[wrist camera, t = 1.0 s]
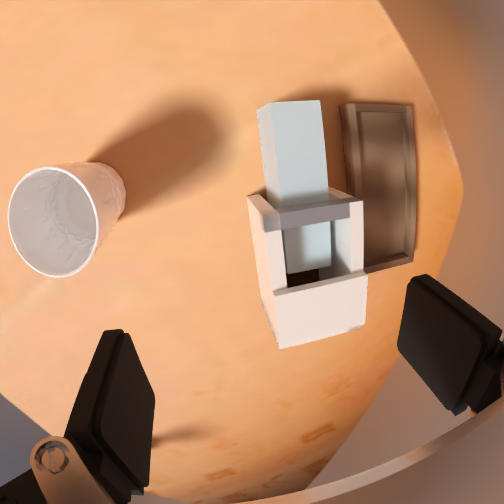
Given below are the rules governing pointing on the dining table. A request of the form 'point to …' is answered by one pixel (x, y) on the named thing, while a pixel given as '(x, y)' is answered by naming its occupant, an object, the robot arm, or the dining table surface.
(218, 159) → the dining table surface
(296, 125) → the white rectangular block
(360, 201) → the dispenser
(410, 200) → the tray
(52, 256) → the white cup
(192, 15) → the dining table surface
